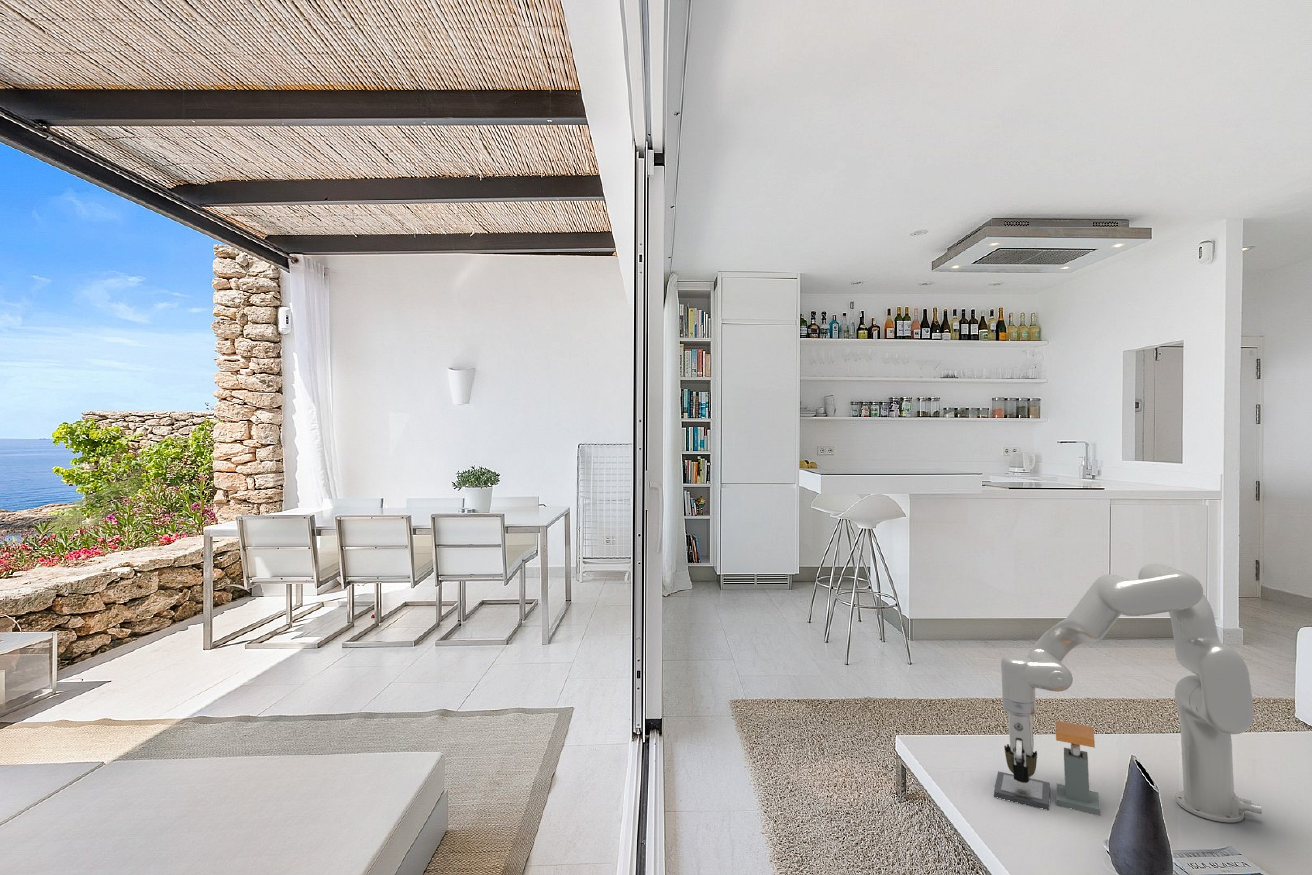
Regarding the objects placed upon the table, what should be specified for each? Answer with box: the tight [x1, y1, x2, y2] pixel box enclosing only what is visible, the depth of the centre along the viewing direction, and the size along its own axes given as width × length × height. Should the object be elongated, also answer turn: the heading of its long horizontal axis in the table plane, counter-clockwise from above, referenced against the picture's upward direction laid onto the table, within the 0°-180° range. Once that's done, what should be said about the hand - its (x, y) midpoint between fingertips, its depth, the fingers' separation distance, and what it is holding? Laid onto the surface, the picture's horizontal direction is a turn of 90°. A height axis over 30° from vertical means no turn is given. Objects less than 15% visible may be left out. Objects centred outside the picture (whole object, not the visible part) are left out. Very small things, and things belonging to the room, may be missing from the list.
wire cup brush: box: [1003, 743, 1038, 783], centre depth 165 cm, size 8×7×8 cm
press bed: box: [993, 771, 1051, 811], centre depth 165 cm, size 12×12×2 cm
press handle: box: [1055, 720, 1096, 757], centre depth 161 cm, size 8×8×12 cm
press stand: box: [1055, 747, 1101, 817], centre depth 161 cm, size 9×9×12 cm
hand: (1021, 773), depth 165 cm, fingers closed on wire cup brush, 6 cm apart
